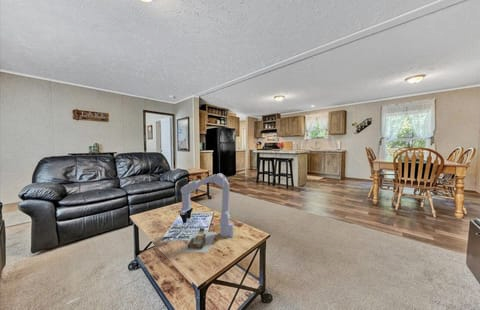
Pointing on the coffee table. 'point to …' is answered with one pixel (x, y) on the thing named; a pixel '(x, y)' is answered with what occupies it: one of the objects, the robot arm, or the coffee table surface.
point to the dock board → (207, 245)
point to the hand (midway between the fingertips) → (186, 220)
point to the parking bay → (196, 244)
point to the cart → (201, 234)
